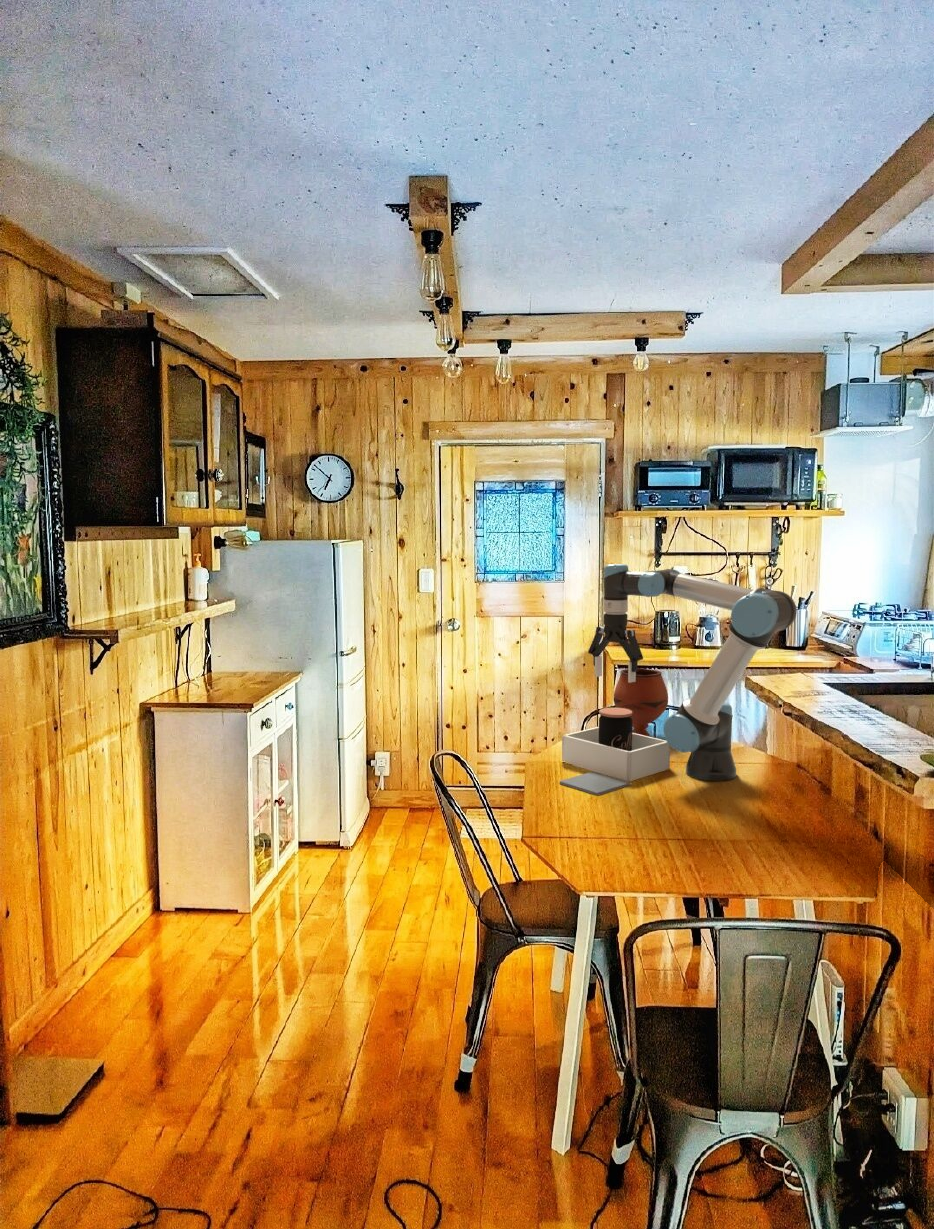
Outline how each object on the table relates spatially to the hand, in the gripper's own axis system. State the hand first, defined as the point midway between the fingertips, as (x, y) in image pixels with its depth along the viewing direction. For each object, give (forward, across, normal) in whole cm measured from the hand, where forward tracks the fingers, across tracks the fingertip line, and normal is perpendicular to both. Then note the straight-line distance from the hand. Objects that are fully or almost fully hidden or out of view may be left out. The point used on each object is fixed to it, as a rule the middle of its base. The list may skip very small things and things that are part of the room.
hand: (614, 679), depth 280 cm
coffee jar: (+29, 0, +1) cm, 29 cm away
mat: (+28, +8, -19) cm, 36 cm away
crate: (+28, 0, +1) cm, 29 cm away
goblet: (+29, -16, +34) cm, 47 cm away
